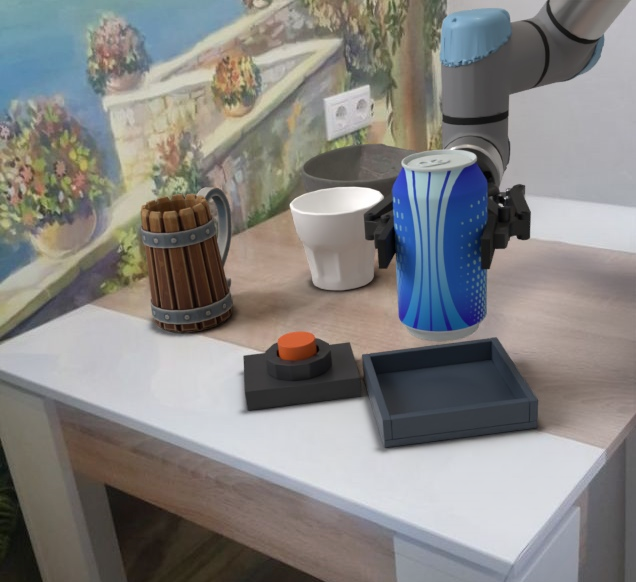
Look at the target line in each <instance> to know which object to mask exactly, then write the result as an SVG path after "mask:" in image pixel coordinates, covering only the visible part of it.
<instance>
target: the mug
mask: <svg viewBox="0 0 636 582" xmlns="http://www.w3.org/2000/svg"><path fill="white" fill-rule="evenodd" d="M211 199H212V201H213V203H214V206H215V208H216V214H217V228H218V230H217V229H216V224H215V220H214V215H212V213H211V209H210V205H209V202H210V200H211ZM140 220H141V225H140V232H141V240H142V243H143V244H144V251H145V259H146V267H147V268H146V269H147V274H148V283H149V291H150V309H151V310H150V311H151V316H152V318H153V320H154V323H155V324H156V325H157V326H158V327H159V328H161V329H163V330H165V331H168V332H173V333H192V332H193V333H194V332H199V331H204V330H208V329H211V328H214V327H216V326H219V325H221V324H222V323H224V322H225V321H226V320H228V319H229V317H230V316H231V314H232V313H233V312H234V302H233V297H232V293H231V287H232V278H231V277H226V273H225V268H224V267H225V265H226V261H227V258H228V256H229V251H230V248H231V244H232V243H231V242H232V234H233V233H232V229H233V228H232V227H233V226H232V225H233V224H232V212H231V206H230V201H229V200H228V197H227V195H226V194H225V192H224V191H223V190H222V189H221V188H220V187H212V186H211V187H209V186H206V187H203V188H201V189H200V190H199V191H198V192H197V193H196V194H195V193H187V194H186V195H185V196H184V194H182V193H179V194H173V195H171V197H170V198H169V197H168V196H167V195H166V196H161V197H160V196H159V197H158V198H157V199H156V200H155V199H152V200H149V201H146V203H145V204H143V205H141V207H140ZM217 232H218V233H217ZM216 233H217V235H216Z"/></svg>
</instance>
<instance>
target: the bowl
mask: <svg viewBox="0 0 636 582" xmlns="http://www.w3.org/2000/svg"><path fill="white" fill-rule="evenodd" d="M420 152H421V151H420ZM420 152H419V151H416V150H413V149H406V148H401V147H397V146H392V145H387V144H384V143H364V144H363V143H361V144H351V145H346V146H341V147H337V148H334V149H331V150H328V151H325V152H322V153H319V154H317V155H315V156H313V157H312V158H310V159H308V160H306V161H305V162H304V164H303V165H302V166H301V171H300V173H301V180H302V184H303V188H304V190H305V192H306V193H309V192H313V191H317V190H322V189H329V188H336V187H362V188H370V189H373V190H376V191H379V192H380V193H381V194H382V195H383V196H384V198H385V197H387V196H388V195H389V194H391V189H392V188H393V185H394V183H395V181H396V179H397V177H398V175H399V173H400V171H401V169H402V167H403V166H402V164H401V163H402V160H403V159H404V158H405V157H407V156H409V155H412V154H416V153H420Z"/></svg>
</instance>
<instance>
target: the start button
mask: <svg viewBox="0 0 636 582" xmlns="http://www.w3.org/2000/svg"><path fill="white" fill-rule="evenodd" d="M315 338H316V336H315V335H314V333H312V332H309V331H303V330H302V331H300V330H299V331H292V332H289V333H285V334H283V335H280V336H279V337H278V339H277V343H278V349H279V356H280V358H281V359H284V360H292V361H295V360H303V359H307V358H309V357H312V356H315V355H316V353H317V349H316V340H315Z"/></svg>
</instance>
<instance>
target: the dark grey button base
mask: <svg viewBox="0 0 636 582" xmlns="http://www.w3.org/2000/svg"><path fill="white" fill-rule="evenodd" d="M315 340H316V349H317V353H316V355H315V356H312V357H309V358H307V359H303V360H295V361H292V360H284V359H281V358H280V356H279V349H278V342H275V343H273V344H272V345H271V346H270V347H269V348H267V349H266V350H265V351H264V352H261V353H251V354H244V355H243V382H244V383H243V385H244V397H245V403H246V409H247V411H255V410H262V409H269V408H270V409H271V408H278V407H285V406H295V405H302V404H309V403H316V402H317V403H318V402H324V401H332V400H333V401H334V400H338V399H339V400H340V399H349V398H355V397H356V398H357V397H362V394H363V393H362V382H361V375H360V371H359V369H358V365H357V361H356V358H355V354H354V352H353V348H352V345H351V342H350V341H348V342H340V343H332V344H330V343H329V342H327V341H325V340H324V339H321V338H318V337H315Z"/></svg>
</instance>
